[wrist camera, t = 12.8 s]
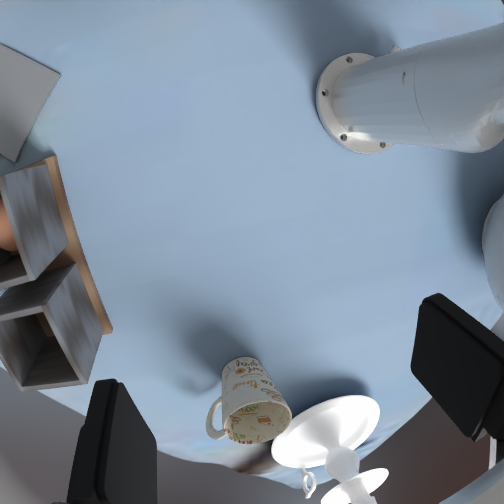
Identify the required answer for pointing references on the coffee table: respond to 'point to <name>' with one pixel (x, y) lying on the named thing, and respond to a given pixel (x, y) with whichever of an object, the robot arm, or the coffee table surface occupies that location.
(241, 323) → the coffee table surface
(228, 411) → the mug
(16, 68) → the mat
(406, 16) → the coffee table surface
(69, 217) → the dark grey boxy container
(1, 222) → the ball
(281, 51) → the coffee table surface
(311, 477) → the candlestick
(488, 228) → the decorative bowl
